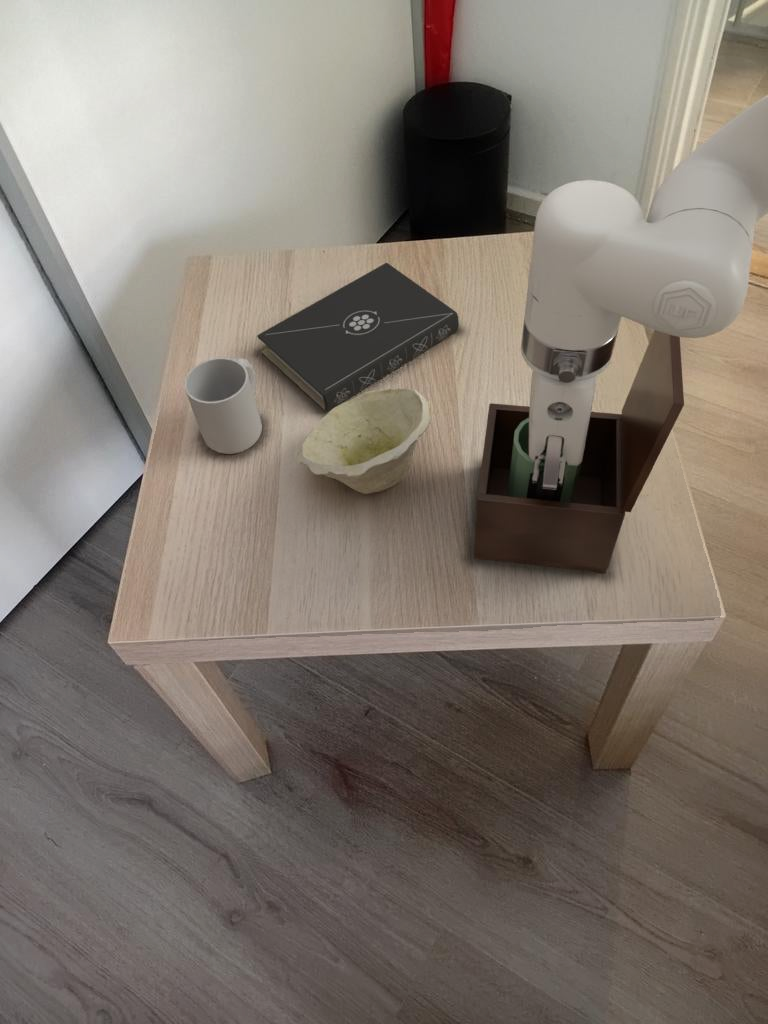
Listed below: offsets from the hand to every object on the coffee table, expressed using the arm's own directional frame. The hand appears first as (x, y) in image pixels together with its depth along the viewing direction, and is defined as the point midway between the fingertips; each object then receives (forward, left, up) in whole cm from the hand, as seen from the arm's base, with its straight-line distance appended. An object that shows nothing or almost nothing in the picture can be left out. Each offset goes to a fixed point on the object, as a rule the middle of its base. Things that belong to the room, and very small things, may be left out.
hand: (544, 471), depth 78 cm
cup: (+36, -9, -8) cm, 38 cm away
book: (+24, -25, -8) cm, 36 cm away
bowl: (+19, -4, -8) cm, 21 cm away
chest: (-1, 0, -8) cm, 8 cm away
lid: (-8, 0, +10) cm, 13 cm away
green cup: (0, 0, -4) cm, 4 cm away
